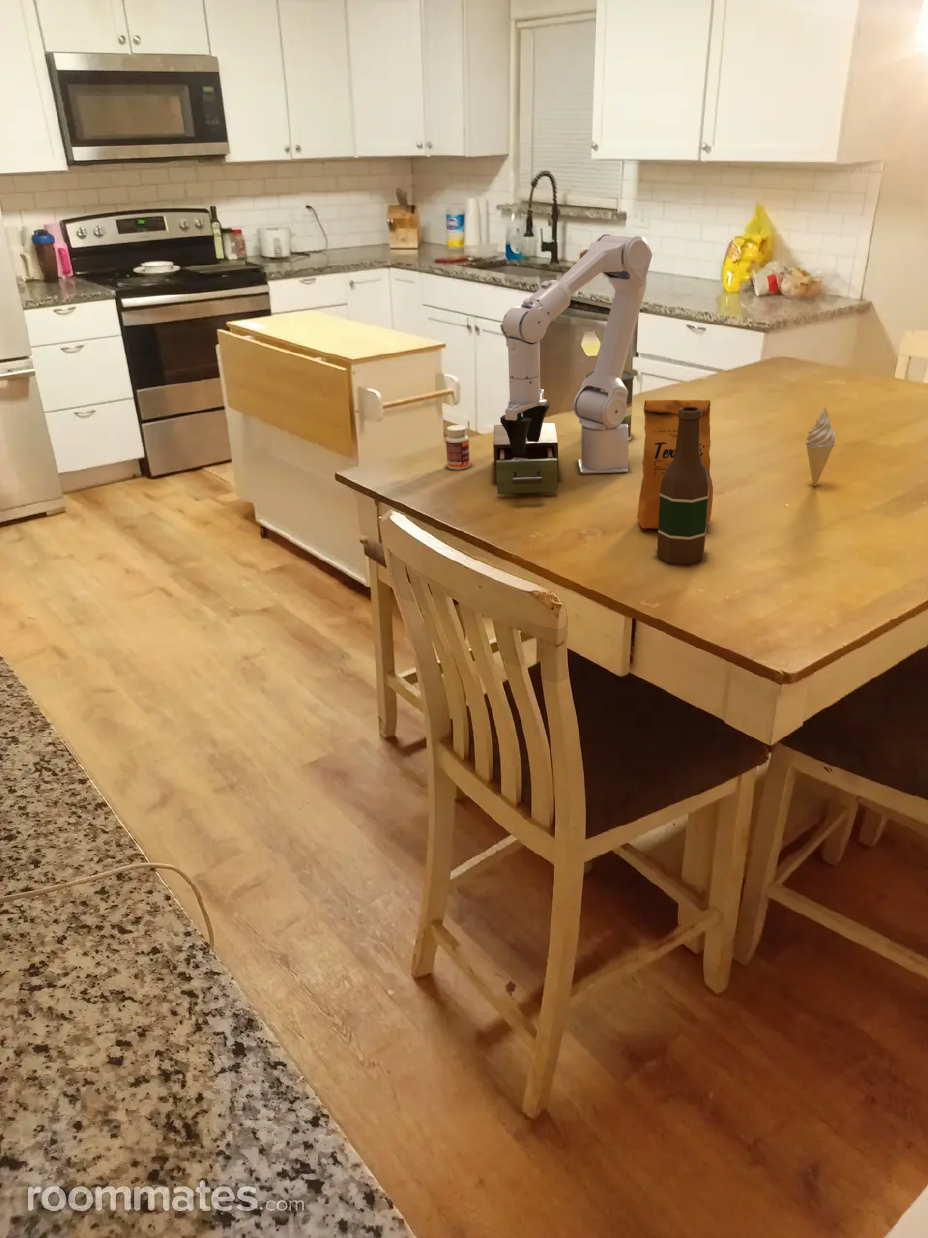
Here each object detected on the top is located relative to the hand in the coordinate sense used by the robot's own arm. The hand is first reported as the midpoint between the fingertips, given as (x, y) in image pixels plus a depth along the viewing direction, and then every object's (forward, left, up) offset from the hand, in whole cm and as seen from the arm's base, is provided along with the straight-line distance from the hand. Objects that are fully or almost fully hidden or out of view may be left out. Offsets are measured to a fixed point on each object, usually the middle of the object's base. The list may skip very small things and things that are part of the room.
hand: (526, 447), depth 175 cm
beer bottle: (-24, +34, -9) cm, 42 cm away
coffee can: (-19, -31, -9) cm, 38 cm away
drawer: (0, +1, -8) cm, 8 cm away
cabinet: (0, -10, -8) cm, 13 cm away
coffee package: (-25, +21, -9) cm, 33 cm away
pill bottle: (+14, -15, -9) cm, 23 cm away
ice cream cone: (-54, +4, -9) cm, 55 cm away
